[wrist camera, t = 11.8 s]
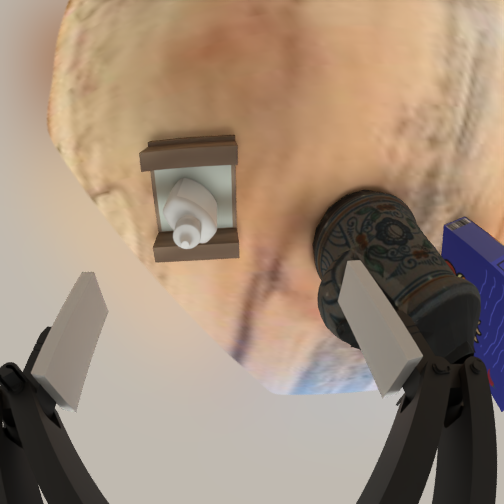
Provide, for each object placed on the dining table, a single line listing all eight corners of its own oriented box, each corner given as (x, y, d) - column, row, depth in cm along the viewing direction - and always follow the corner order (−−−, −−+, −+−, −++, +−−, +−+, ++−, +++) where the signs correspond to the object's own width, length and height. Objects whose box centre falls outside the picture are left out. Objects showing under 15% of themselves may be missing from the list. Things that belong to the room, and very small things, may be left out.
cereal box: (451, 300, 51) (522, 395, 26) (432, 310, 52) (502, 413, 26) (464, 216, 40) (577, 317, 15) (443, 225, 41) (560, 339, 15)
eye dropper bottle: (203, 168, 31) (196, 205, 21) (220, 210, 34) (222, 264, 24) (169, 181, 31) (146, 224, 21) (187, 222, 34) (175, 279, 24)
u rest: (149, 141, 30) (138, 148, 25) (234, 135, 31) (237, 140, 26) (162, 245, 37) (156, 265, 32) (236, 241, 38) (239, 261, 33)
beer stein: (403, 265, 44) (488, 373, 22) (300, 302, 45) (351, 445, 23) (403, 175, 35) (538, 269, 14) (277, 209, 36) (356, 373, 15)
